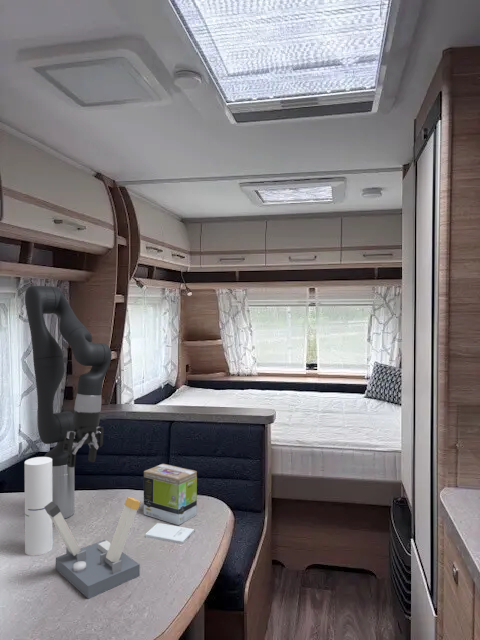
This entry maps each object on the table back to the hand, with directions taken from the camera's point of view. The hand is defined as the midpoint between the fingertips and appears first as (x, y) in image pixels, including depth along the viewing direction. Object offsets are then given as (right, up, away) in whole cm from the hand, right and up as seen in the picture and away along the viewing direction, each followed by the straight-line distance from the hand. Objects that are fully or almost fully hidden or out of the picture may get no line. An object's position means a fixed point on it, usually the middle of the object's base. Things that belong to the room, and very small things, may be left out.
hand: (81, 464), depth 144 cm
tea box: (+24, -21, +15) cm, 36 cm away
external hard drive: (+26, -22, +2) cm, 34 cm away
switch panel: (+10, -22, -19) cm, 31 cm away
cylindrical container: (-9, -22, -8) cm, 25 cm away
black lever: (+4, -18, -18) cm, 26 cm away
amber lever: (+15, -18, -22) cm, 32 cm away
